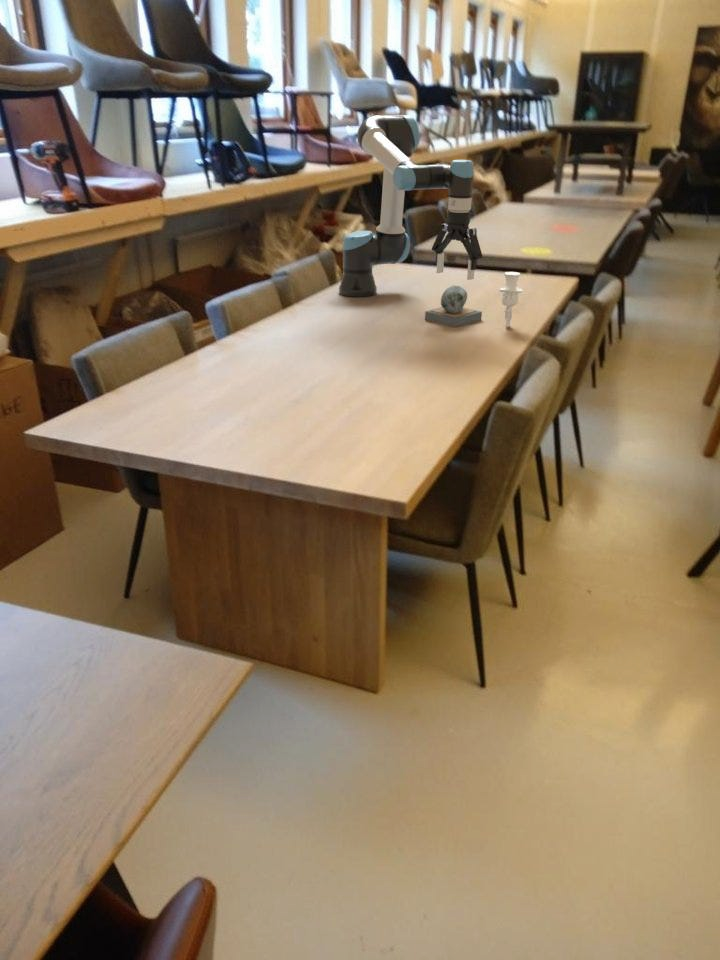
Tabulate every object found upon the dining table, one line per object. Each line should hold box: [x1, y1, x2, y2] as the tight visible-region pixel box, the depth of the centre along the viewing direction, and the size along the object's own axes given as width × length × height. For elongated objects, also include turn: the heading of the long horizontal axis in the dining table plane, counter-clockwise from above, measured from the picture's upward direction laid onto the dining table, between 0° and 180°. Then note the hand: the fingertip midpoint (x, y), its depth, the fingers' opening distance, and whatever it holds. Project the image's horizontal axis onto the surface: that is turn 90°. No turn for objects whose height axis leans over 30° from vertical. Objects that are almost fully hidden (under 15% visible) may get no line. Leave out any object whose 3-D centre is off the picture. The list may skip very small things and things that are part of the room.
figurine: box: [498, 271, 523, 328], centre depth 250 cm, size 10×8×18 cm
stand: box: [424, 306, 483, 328], centre depth 262 cm, size 14×14×3 cm
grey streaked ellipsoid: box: [440, 285, 468, 314], centre depth 260 cm, size 14×10×10 cm
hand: (454, 276), depth 256 cm, fingers open, 13 cm apart
